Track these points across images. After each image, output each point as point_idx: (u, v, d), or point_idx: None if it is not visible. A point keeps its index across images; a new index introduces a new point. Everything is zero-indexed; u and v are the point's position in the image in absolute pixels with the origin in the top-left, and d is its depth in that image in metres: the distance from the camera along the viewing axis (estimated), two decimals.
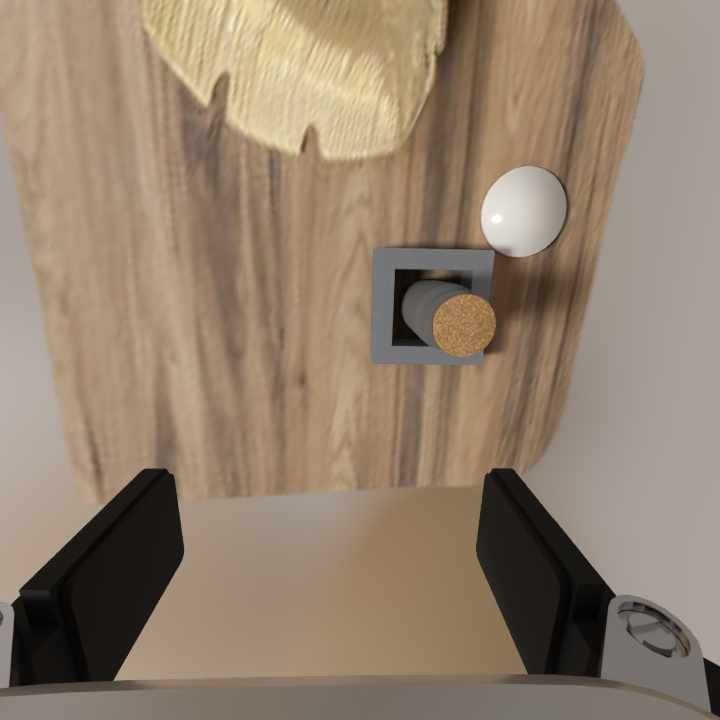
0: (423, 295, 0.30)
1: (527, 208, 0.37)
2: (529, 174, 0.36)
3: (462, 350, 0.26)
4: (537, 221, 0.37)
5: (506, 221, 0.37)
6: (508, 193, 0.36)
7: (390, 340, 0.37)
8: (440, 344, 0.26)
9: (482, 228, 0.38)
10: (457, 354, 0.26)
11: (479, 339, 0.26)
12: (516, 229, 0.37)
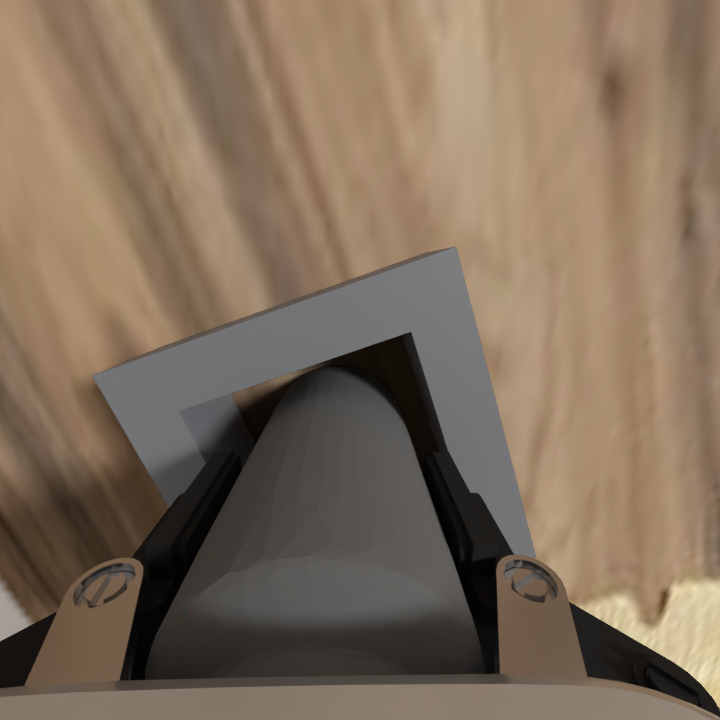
0: None
1: None
2: None
3: None
4: None
5: None
6: None
7: (421, 347, 0.11)
8: None
9: None
10: None
11: None
12: None
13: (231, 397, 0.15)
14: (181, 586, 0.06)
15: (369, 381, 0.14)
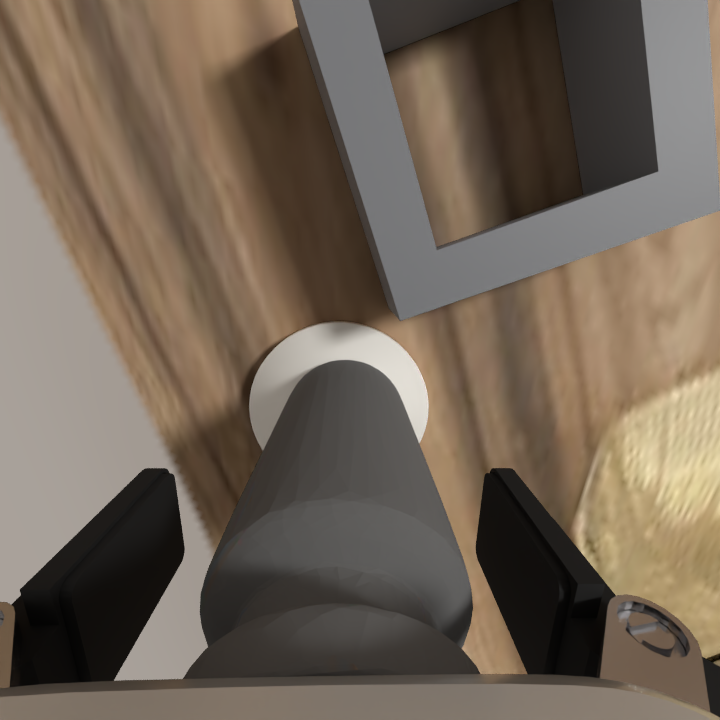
0: None
1: None
2: None
3: None
4: None
5: None
6: None
7: None
8: None
9: (408, 354, 0.17)
10: None
11: None
12: None
13: None
14: (227, 530, 0.07)
15: (373, 373, 0.15)
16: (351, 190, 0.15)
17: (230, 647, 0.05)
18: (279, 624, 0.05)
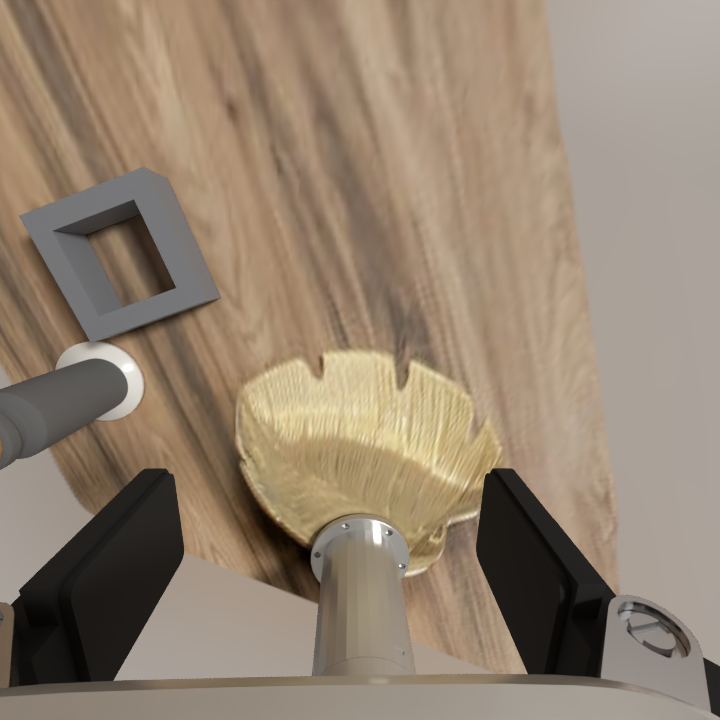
0: (50, 435, 0.28)
1: None
2: (115, 412, 0.38)
3: None
4: None
5: None
6: None
7: (139, 205, 0.30)
8: None
9: (128, 355, 0.37)
10: None
11: None
12: None
13: (89, 245, 0.34)
14: None
15: (99, 364, 0.36)
16: None
17: None
18: None
